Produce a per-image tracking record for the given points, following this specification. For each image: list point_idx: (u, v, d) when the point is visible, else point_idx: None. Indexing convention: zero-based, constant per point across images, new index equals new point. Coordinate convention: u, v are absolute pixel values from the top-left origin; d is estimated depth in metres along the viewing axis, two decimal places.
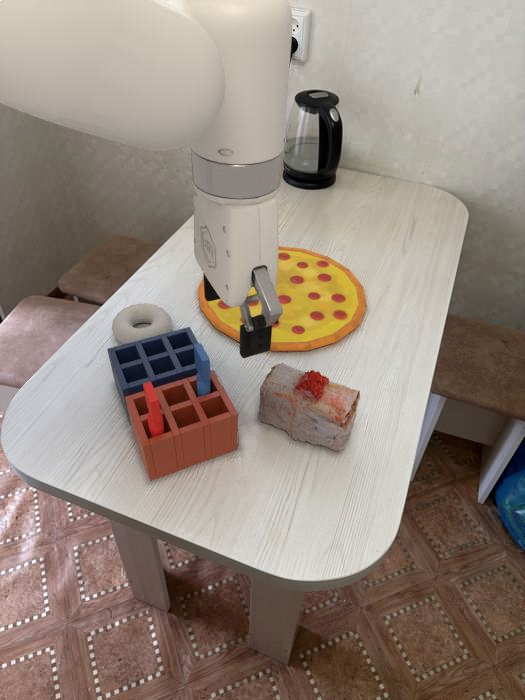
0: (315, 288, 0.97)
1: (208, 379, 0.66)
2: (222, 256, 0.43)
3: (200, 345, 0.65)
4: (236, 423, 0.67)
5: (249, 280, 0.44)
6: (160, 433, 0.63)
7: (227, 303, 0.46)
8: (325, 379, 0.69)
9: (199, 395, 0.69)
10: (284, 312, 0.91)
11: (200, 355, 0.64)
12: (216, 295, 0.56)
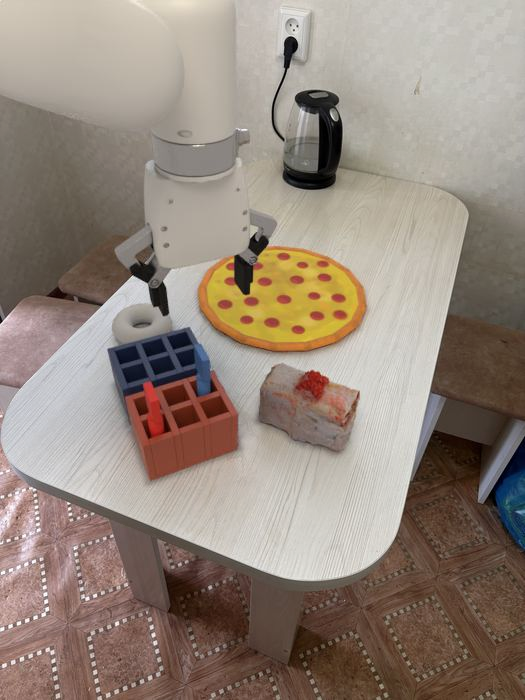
0: (315, 288, 0.97)
1: (208, 379, 0.66)
2: None
3: (200, 345, 0.65)
4: (236, 423, 0.67)
5: None
6: (160, 433, 0.63)
7: (153, 243, 0.53)
8: (325, 379, 0.69)
9: (199, 395, 0.69)
10: (284, 312, 0.91)
11: (200, 355, 0.64)
12: (237, 282, 0.59)
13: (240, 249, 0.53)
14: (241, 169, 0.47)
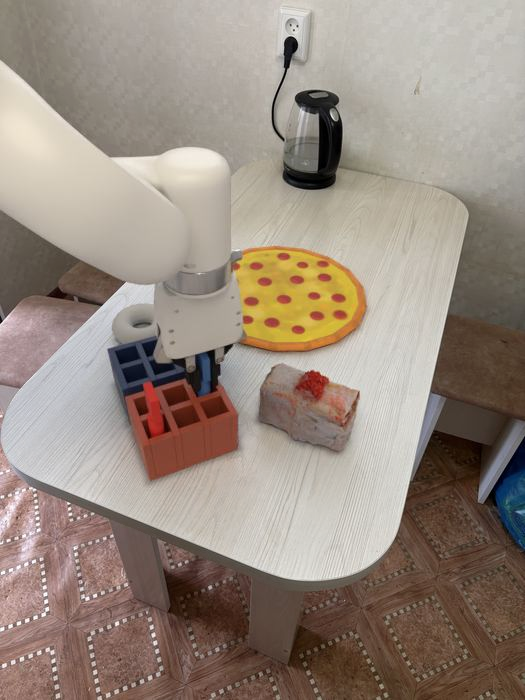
0: (315, 288, 0.97)
1: (208, 379, 0.66)
2: None
3: None
4: (236, 423, 0.67)
5: (156, 327, 0.59)
6: (160, 433, 0.63)
7: (160, 333, 0.63)
8: (325, 379, 0.69)
9: (199, 395, 0.69)
10: (284, 312, 0.91)
11: (200, 355, 0.64)
12: None
13: (234, 339, 0.62)
14: (235, 282, 0.56)
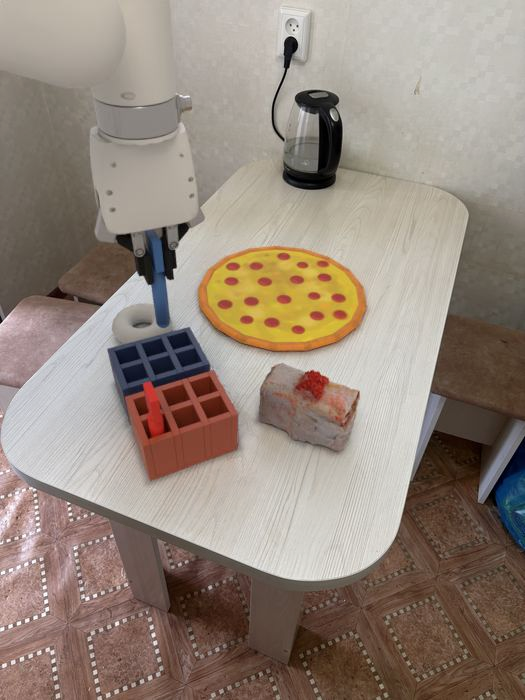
0: (315, 288, 0.97)
1: (161, 269, 0.58)
2: None
3: (152, 229, 0.57)
4: (236, 423, 0.67)
5: (95, 196, 0.51)
6: (160, 433, 0.63)
7: None
8: (325, 379, 0.69)
9: (153, 293, 0.61)
10: (284, 312, 0.91)
11: (150, 237, 0.56)
12: None
13: (188, 216, 0.54)
14: (184, 135, 0.48)
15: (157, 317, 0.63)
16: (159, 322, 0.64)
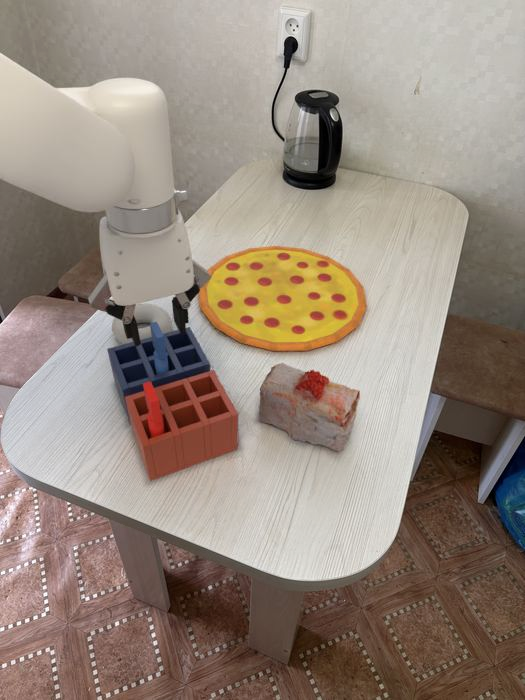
0: (315, 288, 0.97)
1: (164, 356, 0.68)
2: None
3: (156, 323, 0.67)
4: (236, 423, 0.67)
5: (104, 273, 0.59)
6: (160, 433, 0.63)
7: None
8: (325, 379, 0.69)
9: (157, 373, 0.71)
10: (284, 312, 0.91)
11: (155, 332, 0.66)
12: (176, 322, 0.68)
13: (185, 288, 0.62)
14: (181, 224, 0.56)
15: None
16: None
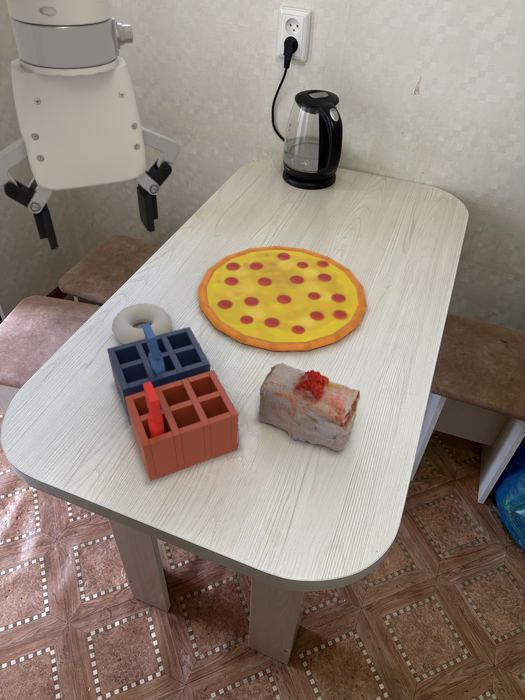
0: (315, 288, 0.97)
1: (158, 357, 0.68)
2: None
3: (148, 324, 0.67)
4: (236, 423, 0.67)
5: None
6: (160, 433, 0.63)
7: None
8: (325, 379, 0.69)
9: (154, 373, 0.71)
10: (284, 312, 0.91)
11: (147, 333, 0.66)
12: (142, 218, 0.53)
13: (134, 172, 0.47)
14: (123, 70, 0.41)
15: None
16: None
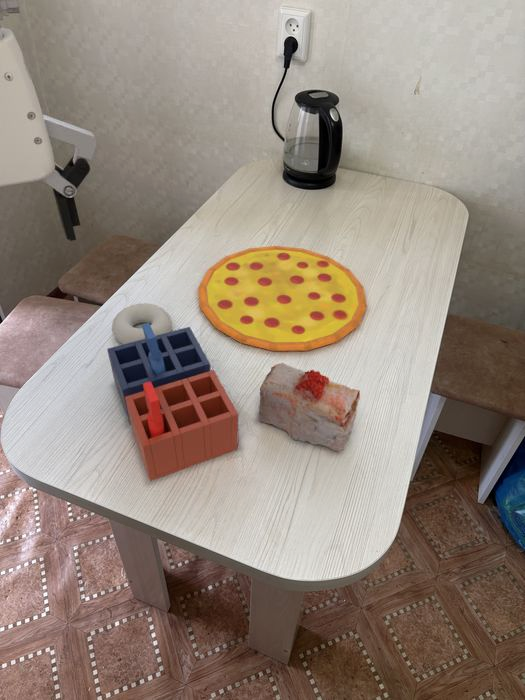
0: (315, 288, 0.97)
1: (158, 357, 0.68)
2: None
3: (148, 324, 0.67)
4: (236, 423, 0.67)
5: None
6: (160, 433, 0.63)
7: None
8: (325, 379, 0.69)
9: (154, 373, 0.71)
10: (284, 312, 0.91)
11: (147, 333, 0.66)
12: (62, 224, 0.46)
13: (40, 171, 0.39)
14: (7, 46, 0.34)
15: None
16: None
